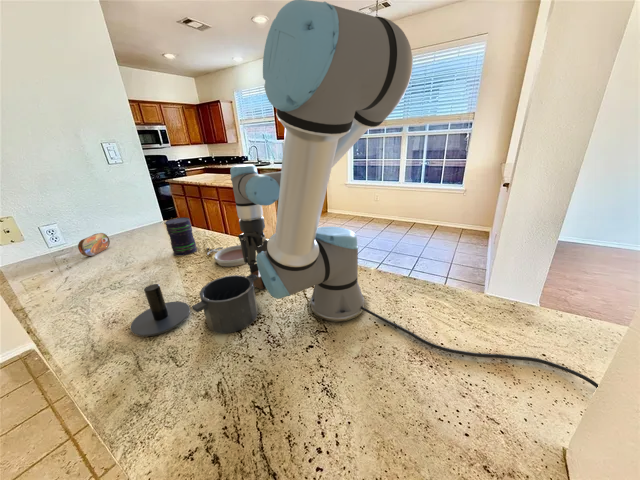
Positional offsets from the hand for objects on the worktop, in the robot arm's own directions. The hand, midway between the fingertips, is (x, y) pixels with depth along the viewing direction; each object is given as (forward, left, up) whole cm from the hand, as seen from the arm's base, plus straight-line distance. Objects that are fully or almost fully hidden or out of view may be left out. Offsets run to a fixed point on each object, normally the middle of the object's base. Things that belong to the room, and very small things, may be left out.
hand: (261, 283), depth 89 cm
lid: (+10, +28, 0) cm, 30 cm away
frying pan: (+32, -9, -1) cm, 34 cm away
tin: (+93, +21, -1) cm, 96 cm away
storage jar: (+54, -2, -1) cm, 54 cm away
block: (0, 0, 0) cm, 0 cm away
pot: (-6, +16, -1) cm, 17 cm away
